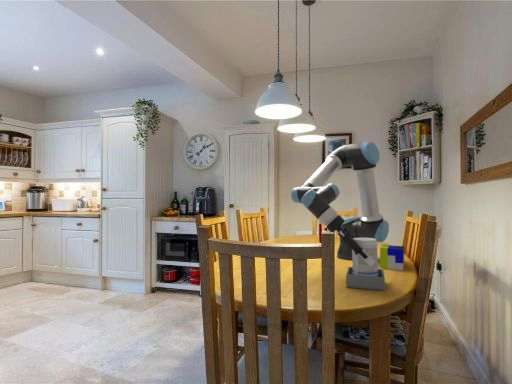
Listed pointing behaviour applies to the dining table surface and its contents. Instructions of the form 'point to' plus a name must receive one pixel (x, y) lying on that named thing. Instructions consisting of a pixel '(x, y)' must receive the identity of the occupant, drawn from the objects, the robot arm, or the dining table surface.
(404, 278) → the dining table surface
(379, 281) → the crate
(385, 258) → the puzzle toy
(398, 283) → the dining table surface
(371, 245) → the supplement tub
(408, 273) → the dining table surface
